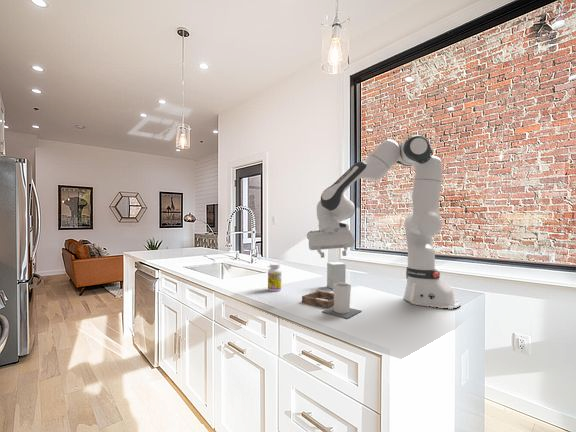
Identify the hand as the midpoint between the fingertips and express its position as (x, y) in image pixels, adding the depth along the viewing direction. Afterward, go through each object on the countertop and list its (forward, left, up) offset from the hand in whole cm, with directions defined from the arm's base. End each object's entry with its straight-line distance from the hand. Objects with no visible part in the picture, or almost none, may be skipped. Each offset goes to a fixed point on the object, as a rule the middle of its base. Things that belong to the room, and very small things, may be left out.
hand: (333, 256), depth 130 cm
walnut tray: (+4, +2, -20) cm, 20 cm away
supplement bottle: (+33, +1, -20) cm, 38 cm away
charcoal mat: (-9, +9, -20) cm, 24 cm away
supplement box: (+13, -24, -20) cm, 33 cm away
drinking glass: (-9, +9, -19) cm, 23 cm away
